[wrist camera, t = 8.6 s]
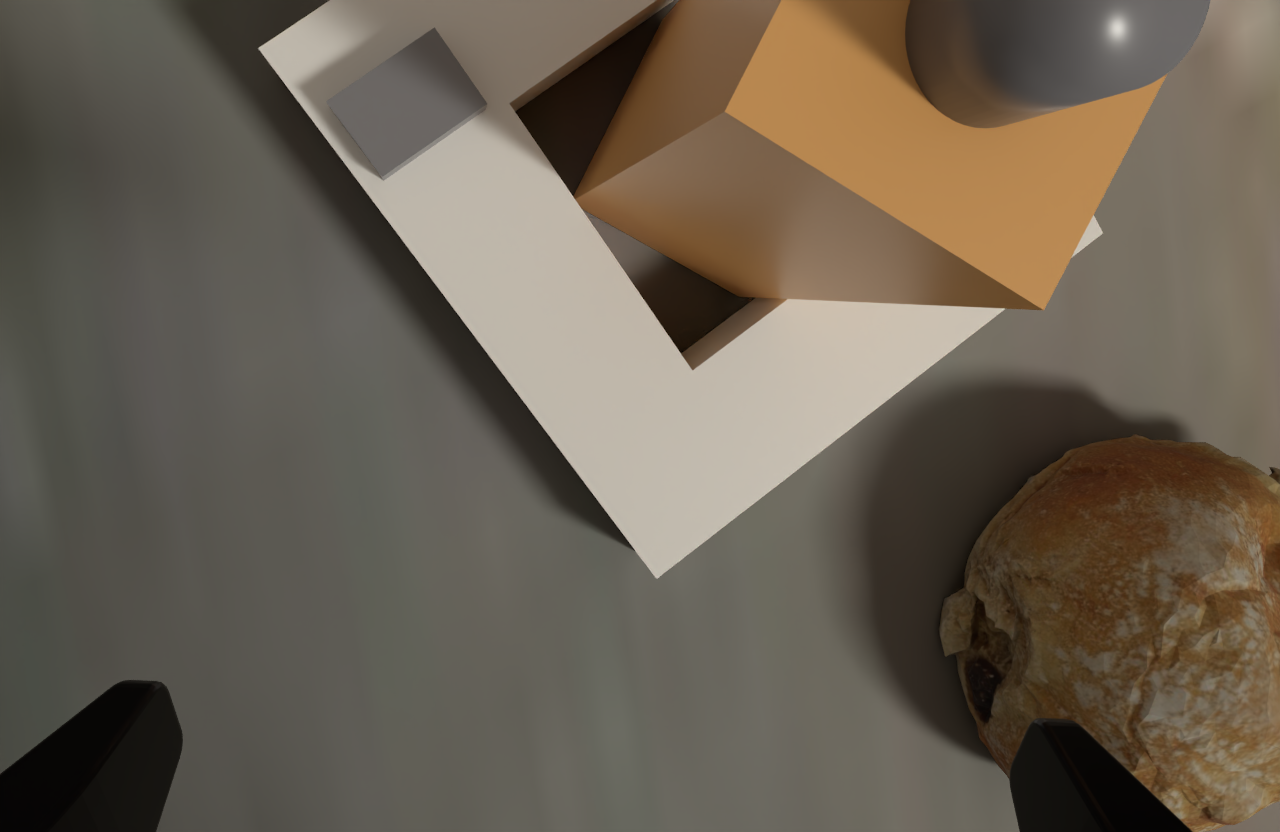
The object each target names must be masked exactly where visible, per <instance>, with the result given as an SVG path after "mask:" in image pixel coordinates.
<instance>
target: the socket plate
mask: <svg viewBox="0 0 1280 832" xmlns="http://www.w3.org/2000/svg"><path fill="white" fill-rule="evenodd" d="M672 1H674V0H330V1H328V2H327V3H325V4H324V5H322V6H321V7H319V8H318V9H316V10H315V11H313V12H312V13H310V14H309V15H307V16H306V17H304V18H303V19H301V20H300V21H298V22H297V23H295V24H294V25H292V26H291V27H289V28H288V29H286V30H285V31H283V32H282V33H280V34H279V35H277V36H276V37H274V38H273V39H271V40H270V41H268V42H267V43H265V44H264V45H262V46H261V47H259V48H258V49H259V50H260V51H261V53H262V54H263V55H264V57H265V58H266V60H267V61H268V62H269V64H270V65H271V66H272V68H273V69H274V70H275V72H276V73H277V74H278V76H279V77H280V78H281V80H282V81H283V82H284V84H285V85H286V86H287V88H288V89H289V90H290V92H291V93H292V94H293V96H294V97H295V98H296V100H297V101H298V102H299V103H300V105H301V106H302V107H303V109H304V110H305V111H306V113H307V114H308V115H309V117H310V118H311V119H312V121H313V122H314V123H315V125H316V126H317V127H318V129H319V130H320V131H321V133H322V134H323V135H324V137H325V138H326V139H327V141H328V142H329V143H330V145H331V146H332V147H333V149H334V150H335V151H336V153H337V154H338V155H339V157H340V158H341V159H342V161H343V162H344V163H345V165H346V166H347V167H348V169H349V170H350V171H351V173H352V174H353V175H354V177H355V178H356V179H357V181H358V182H359V183H360V185H361V186H362V187H363V189H364V190H365V191H366V193H367V194H368V195H369V197H370V198H371V199H372V201H373V202H374V203H375V205H376V206H377V207H378V209H379V210H380V211H381V213H382V214H383V215H384V217H385V218H386V219H387V221H388V222H389V223H390V225H391V226H392V227H393V229H394V230H395V231H396V233H397V234H398V235H399V237H400V238H401V239H402V241H403V242H404V243H405V245H406V246H407V247H408V249H409V250H410V251H411V253H412V254H413V255H414V257H415V258H416V259H417V261H418V262H419V263H420V265H421V266H422V267H423V269H424V270H425V271H426V273H427V274H428V275H429V277H430V278H431V279H432V281H433V282H434V283H435V285H436V286H437V287H438V289H439V290H440V291H441V293H442V294H443V295H444V297H445V298H446V299H447V301H448V302H449V303H450V305H451V306H452V307H453V309H454V310H455V311H456V313H457V314H458V315H459V317H460V318H461V319H462V321H463V322H464V323H465V325H466V326H467V327H468V329H469V330H470V331H471V332H472V334H473V335H474V336H475V338H476V339H477V340H478V342H479V343H480V344H481V346H482V347H483V348H484V350H485V351H486V352H487V354H488V355H489V356H490V358H491V359H492V360H493V362H494V363H495V364H496V366H497V367H498V368H499V370H500V371H501V372H502V374H503V375H504V376H505V378H506V379H507V380H508V382H509V383H510V384H511V386H512V387H513V388H514V390H515V391H516V392H517V394H518V395H519V396H520V398H521V399H522V400H523V402H524V403H525V404H526V406H527V407H528V408H529V410H530V411H531V412H532V414H533V415H534V416H535V418H536V419H537V420H538V422H539V423H540V424H541V426H542V427H543V428H544V430H545V431H546V432H547V434H548V435H549V436H550V438H551V439H552V440H553V442H554V443H555V444H556V446H557V447H558V448H559V450H560V451H561V452H562V454H563V455H564V456H565V458H566V459H567V460H568V462H569V463H570V464H571V466H572V467H573V468H574V470H575V471H576V472H577V474H578V475H579V476H580V478H581V479H582V480H583V482H584V483H585V484H586V486H587V487H588V488H589V490H590V491H591V492H592V494H593V495H594V496H595V498H596V499H597V500H598V502H599V503H600V504H601V506H602V507H603V508H604V510H605V511H606V512H607V514H608V515H609V516H610V518H611V519H612V520H613V522H614V523H615V524H616V526H617V527H618V528H619V530H620V531H621V532H622V534H623V535H624V536H625V538H626V539H627V540H628V542H629V543H630V544H631V546H632V547H633V548H634V550H635V551H636V552H637V554H638V555H639V556H640V557H641V559H642V560H643V561H644V563H645V564H646V565H647V567H648V568H649V569H650V571H651V572H652V573H653V575H654V576H655V577H656V579H657V578H658V577H660V576H661V575H662V574H663V573H665V572H666V571H667V570H669V569H670V568H671V567H672V566H674V565H675V564H676V563H678V562H679V561H680V560H682V559H683V558H684V557H685V556H687V555H688V554H689V553H691V552H692V551H693V550H694V549H696V548H697V547H698V546H700V545H701V544H702V543H703V542H705V541H706V540H707V539H709V538H710V537H711V536H713V535H714V534H715V533H716V532H718V531H719V530H720V529H722V528H723V527H724V526H725V525H727V524H728V523H729V522H731V521H732V520H733V519H734V518H736V517H737V516H738V515H740V514H741V513H742V512H743V511H745V510H746V509H747V508H749V507H750V506H751V505H753V504H754V503H755V502H756V501H758V500H759V499H760V498H762V497H763V496H764V495H765V494H767V493H768V492H769V491H771V490H772V489H773V488H774V487H776V486H777V485H778V484H780V483H781V482H782V481H784V480H785V479H786V478H787V477H789V476H790V475H791V474H793V473H794V472H795V471H796V470H798V469H799V468H800V467H802V466H803V465H804V464H805V463H807V462H808V461H809V460H811V459H812V458H813V457H815V456H816V455H817V454H818V453H820V452H821V451H822V450H824V449H825V448H826V447H827V446H829V445H830V444H831V443H833V442H834V441H835V440H836V439H838V438H839V437H840V436H842V435H843V434H844V433H846V432H847V431H848V430H849V429H851V428H852V427H853V426H855V425H856V424H857V423H858V422H860V421H861V420H862V419H864V418H865V417H866V416H867V415H869V414H870V413H871V412H873V411H874V410H875V409H877V408H878V407H879V406H880V405H882V404H883V403H884V402H886V401H887V400H888V399H889V398H891V397H892V396H893V395H895V394H896V393H897V392H898V391H900V390H901V389H902V388H904V387H905V386H906V385H908V384H909V383H910V382H911V381H913V380H914V379H915V378H917V377H918V376H919V375H920V374H922V373H923V372H924V371H926V370H927V369H928V368H929V367H931V366H932V365H933V364H935V363H936V362H937V361H939V360H940V359H941V358H942V357H944V356H945V355H946V354H948V353H949V352H950V351H951V350H953V349H954V348H955V347H957V346H958V345H959V344H960V343H962V342H963V341H964V340H966V339H967V338H968V337H970V336H971V335H972V334H973V333H975V332H976V331H977V330H979V329H980V328H981V327H982V326H984V325H985V324H986V323H988V322H989V321H990V320H991V319H993V318H994V317H995V316H997V315H998V314H999V313H1001V312H1002V311H1003V310H1004V309H1005V308H983V307H960V306H937V305H914V304H892V303H869V302H846V301H823V300H801V299H778V298H755V299H753V300H752V301H751V302H749V303H748V304H747V305H745V306H744V307H743V308H741V309H740V310H739V311H737V312H736V313H735V314H733V315H732V316H731V317H729V318H728V319H727V320H725V321H724V322H723V323H721V324H720V325H719V326H717V327H716V328H715V329H713V330H712V331H711V332H709V333H708V334H707V335H705V336H704V337H703V338H701V339H700V340H699V341H697V342H696V343H695V344H693V345H692V346H690V347H689V348H688V349H686V350H685V351H684V352H682V353H680V352H679V350H678V349H677V347H676V346H675V344H674V343H673V341H672V340H671V339H670V337H669V336H668V334H667V333H666V331H665V330H664V328H663V327H662V325H661V324H660V323H659V321H658V320H657V318H656V317H655V315H654V314H653V312H652V311H651V309H650V308H649V306H648V305H647V304H646V302H645V301H644V299H643V298H642V296H641V295H640V293H639V292H638V290H637V289H636V288H635V286H634V285H633V283H632V282H631V280H630V279H629V277H628V276H627V274H626V273H625V271H624V270H623V269H622V267H621V266H620V264H619V263H618V261H617V260H616V258H615V257H614V255H613V254H612V253H611V251H610V250H609V248H608V247H607V245H606V244H605V242H604V241H603V239H602V238H601V236H600V235H599V234H598V232H597V231H596V229H595V228H594V226H593V225H592V223H591V222H590V220H589V219H588V218H587V216H586V215H585V213H584V212H583V210H582V209H581V207H580V206H579V204H578V203H577V201H576V200H575V199H574V197H573V196H572V194H571V193H570V191H569V190H568V188H567V187H566V185H565V184H564V183H563V181H562V180H561V178H560V177H559V175H558V174H557V172H556V171H555V169H554V168H553V167H552V165H551V164H550V162H549V161H548V159H547V158H546V156H545V155H544V153H543V152H542V150H541V149H540V148H539V146H538V145H537V143H536V142H535V140H534V139H533V137H532V136H531V134H530V133H529V132H528V130H527V129H526V127H525V126H524V124H523V123H522V121H521V120H520V118H519V117H518V115H517V114H516V113H515V111H517V110H518V109H519V108H521V107H522V106H524V105H525V104H527V103H528V102H529V101H531V100H532V99H534V98H535V97H537V96H538V95H539V94H541V93H542V92H544V91H545V90H547V89H548V88H549V87H551V86H552V85H554V84H555V83H557V82H558V81H559V80H561V79H562V78H564V77H565V76H567V75H568V74H569V73H571V72H572V71H574V70H575V69H577V68H578V67H579V66H581V65H582V64H584V63H585V62H587V61H588V60H589V59H591V58H592V57H594V56H595V55H597V54H598V53H599V52H601V51H602V50H604V49H605V48H607V47H608V46H609V45H611V44H612V43H614V42H615V41H617V40H618V39H619V38H621V37H622V36H624V35H625V34H627V33H628V32H629V31H631V30H632V29H634V28H635V27H637V26H638V25H639V24H641V23H642V22H644V21H645V20H647V19H648V18H649V17H651V16H652V15H654V14H655V13H657V12H658V11H659V10H661V9H662V8H664V7H665V6H667V5H668V4H669V3H671V2H672ZM1101 234H1103V232H1102V230H1101V228H1100V227H1099V225H1098V223H1097V221H1096V219H1095V217H1094V215H1093V217H1092V219H1091V221H1090V223H1089V225H1088V226H1087V228H1086V230H1085V232H1084V234H1083V236H1082V238H1081V240H1080V242H1079V244H1078V246H1077V247H1076V249H1075V251H1074V253H1073V255H1072V257H1073V256H1074V255H1075V254H1077V253H1078V252H1079V251H1081V250H1082V249H1083V248H1084V247H1086V246H1087V245H1088V244H1090V243H1091V242H1092V241H1094V240H1095V239H1096V238H1097V237H1099V236H1100V235H1101ZM1072 257H1071V258H1072Z"/></svg>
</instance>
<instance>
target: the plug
mask: <svg viewBox="0 0 1280 832" xmlns="http://www.w3.org/2000/svg"><path fill="white" fill-rule="evenodd" d="M1209 4H1210V0H679V1H678V3H677V4H676V5H675V6H674V7H673V8H672V9H671V11H670V12H669V13H668V14H667V15H666V16H665V17H664V19H663V20H662V21H661V23H660V25H659V27H658V29H657V31H656V33H655V35H654V37H653V39H652V41H651V43H650V45H649V47H648V49H647V51H646V53H645V55H644V57H643V59H642V61H641V63H640V65H639V67H638V69H637V71H636V73H635V75H634V77H633V79H632V81H631V83H630V85H629V87H628V89H627V91H626V93H625V95H624V97H623V99H622V101H621V103H620V105H619V107H618V109H617V111H616V113H615V115H614V117H613V119H612V120H611V122H610V124H609V126H608V128H607V130H606V132H605V134H604V136H603V138H602V140H601V142H600V144H599V146H598V148H597V150H596V152H595V154H594V156H593V158H592V160H591V162H590V164H589V166H588V168H587V170H586V172H585V174H584V176H583V178H582V180H581V182H580V184H579V186H578V188H577V190H576V192H575V194H574V196H573V197H574V199H575V200H576V201H577V203H578V204H579V206H580V207H581V209H583V210H585V211H587V212H588V213H590V214H592V215H594V216H596V217H597V218H599V219H601V220H603V221H604V222H606V223H608V224H610V225H612V226H613V227H615V228H617V229H619V230H621V231H622V232H624V233H626V234H628V235H629V236H631V237H633V238H635V239H637V240H638V241H640V242H642V243H644V244H645V245H647V246H649V247H651V248H653V249H654V250H656V251H658V252H660V253H662V254H663V255H665V256H667V257H669V258H670V259H672V260H674V261H676V262H678V263H679V264H681V265H683V266H685V267H687V268H688V269H690V270H692V271H694V272H695V273H697V274H699V275H701V276H703V277H704V278H706V279H708V280H710V281H711V282H713V283H715V284H717V285H719V286H720V287H722V288H724V289H726V290H728V291H729V292H731V293H733V294H735V295H736V296H738V297H755V298H778V299H801V300H823V301H846V302H869V303H892V304H914V305H937V306H960V307H983V308H1005V309H1028V310H1044V309H1045V307H1046V305H1047V303H1048V301H1049V299H1050V297H1051V295H1052V293H1053V292H1054V290H1055V288H1056V286H1057V284H1058V282H1059V280H1060V278H1061V276H1062V274H1063V272H1064V270H1065V269H1066V267H1067V265H1068V263H1069V261H1070V259H1071V257H1072V255H1073V253H1074V251H1075V249H1076V247H1077V246H1078V244H1079V242H1080V240H1081V238H1082V236H1083V234H1084V232H1085V230H1086V228H1087V226H1088V225H1089V223H1090V221H1091V219H1092V217H1093V215H1094V213H1095V211H1096V209H1097V207H1098V205H1099V203H1100V202H1101V200H1102V198H1103V196H1104V194H1105V192H1106V190H1107V188H1108V186H1109V184H1110V182H1111V180H1112V179H1113V177H1114V175H1115V173H1116V171H1117V169H1118V167H1119V165H1120V163H1121V161H1122V159H1123V157H1124V156H1125V154H1126V152H1127V150H1128V148H1129V146H1130V144H1131V142H1132V140H1133V138H1134V136H1135V134H1136V133H1137V131H1138V129H1139V127H1140V125H1141V123H1142V121H1143V119H1144V117H1145V115H1146V113H1147V112H1148V110H1149V108H1150V106H1151V104H1152V102H1153V100H1154V98H1155V96H1156V94H1157V92H1158V90H1159V89H1160V87H1161V85H1162V83H1163V81H1164V79H1165V77H1166V75H1167V73H1168V72H1170V71H1171V70H1172V69H1173V68H1174V67H1175V66H1176V65H1177V64H1178V63H1179V62H1180V61H1181V60H1182V59H1183V58H1184V57H1185V55H1186V54H1187V53H1188V51H1189V50H1190V49H1191V47H1192V45H1193V44H1194V42H1195V40H1196V39H1197V37H1198V35H1199V33H1200V31H1201V28H1202V26H1203V24H1204V21H1205V18H1206V15H1207V12H1208V9H1209Z"/></svg>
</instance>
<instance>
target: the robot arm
mask: <svg viewBox="0 0 1280 832" xmlns="http://www.w3.org/2000/svg"><path fill="white" fill-rule="evenodd" d="M182 743H183V736H182V730H181V727H180V724H179V721H178V718H177V715H176V712H175V709H174V706H173V703H172V699H171V696H170V693H169V691H168V689H167V687H166V686H165V685H164V684H163V683H162V682H158V681H142V680H125V681H122V682H119V683H117V684H115V685H114V686H112V687H111V688H110V689H108V690H107V691H106V692H104V693H103V694H102V695H101V696H99V697H98V698H97V699H95V700H94V701H93V702H92V703H90V704H89V705H88V706H87V707H85V708H84V709H83V710H81V711H80V712H79V713H78V714H76V715H75V716H74V717H72V718H71V719H70V720H69V721H67V722H66V723H65V724H64V725H62V726H61V727H60V728H58V729H57V730H56V731H55V732H53V733H52V734H51V735H49V736H48V737H47V738H46V739H44V740H43V741H42V742H41V743H39V744H38V745H37V746H35V747H34V748H33V749H32V750H30V751H29V752H28V753H26V754H25V755H24V756H23V757H21V758H20V759H19V760H18V761H16V762H15V763H14V764H12V765H11V766H10V767H9V768H7V769H6V770H5V771H3V772H2V773H1V774H0V832H156V830H157V827H158V824H159V821H160V818H161V815H162V812H163V809H164V805H165V802H166V799H167V796H168V793H169V790H170V787H171V784H172V781H173V777H174V774H175V771H176V768H177V765H178V762H179V759H180V755H181V751H182ZM1010 788H1011V793H1012V798H1013V803H1014V807H1015V812H1016V816H1017V821H1018V826H1019V830H1020V832H1193V831H1192V830H1191V829H1190V828H1189V827H1187V826H1186V825H1185V824H1184V823H1183V822H1182V821H1181V820H1180V819H1179V818H1178V817H1177V816H1176V815H1175V814H1174V813H1173V812H1172V811H1171V810H1170V809H1169V808H1167V807H1166V806H1165V805H1164V804H1163V803H1162V802H1161V801H1160V800H1159V799H1158V798H1157V797H1156V796H1155V795H1154V794H1153V793H1152V792H1151V791H1150V790H1149V789H1147V788H1146V787H1145V786H1144V785H1143V784H1142V783H1141V782H1140V781H1139V780H1138V779H1137V778H1136V777H1135V776H1134V775H1133V774H1132V773H1131V772H1130V771H1129V770H1127V769H1126V768H1125V767H1124V766H1123V765H1122V764H1121V763H1120V762H1119V761H1118V760H1117V759H1116V758H1115V757H1114V756H1113V755H1112V754H1111V753H1110V752H1109V751H1107V750H1106V749H1105V748H1104V747H1103V746H1102V745H1101V744H1100V743H1099V742H1098V741H1097V740H1096V739H1095V738H1094V737H1093V736H1092V735H1091V734H1090V733H1089V732H1087V731H1086V730H1085V729H1084V728H1083V727H1082V726H1081V725H1080V724H1078V723H1076V722H1075V721H1073V720H1069V719H1056V718H1036V719H1035V720H1034V721H1032V722H1031V723H1030V725H1029V726H1028V729H1027V731H1026V733H1025V735H1024V737H1023V740H1022V742H1021V744H1020V746H1019V748H1018V751H1017V753H1016V755H1015V757H1014V759H1013V762H1012V764H1011V768H1010Z"/></svg>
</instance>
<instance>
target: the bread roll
mask: <svg viewBox="0 0 1280 832" xmlns="http://www.w3.org/2000/svg"><path fill="white" fill-rule="evenodd" d="M1269 468H1270V470H1271V471H1272V474H1271V475H1269V476H1268V475H1267V474H1265V473H1264V472H1262V471H1261V470H1259V469H1258V468H1256V467H1255V466H1253V465H1252V464H1250V463H1249V462H1247V461H1246V460H1244V459H1243V458H1241V457H1231V456H1229V455H1226V454H1225V453H1223V452H1222V451H1220V450H1219V449H1217V448H1215V447H1214V446H1212V445H1210V444H1208V443H1206V442H1175V441H1172V440H1150V439H1148V438H1146V437H1143V436H1140V435H1136V434H1134V435H1133V436H1131V437H1127V438H1118V439H1112V440H1106V441H1101V442H1096V443H1091V444H1088V445H1085V446H1082V447H1078V448H1075V449H1071V450H1069V451H1067V452H1066V453H1065V454H1064V456H1063V457H1062V458H1061V459H1059V460H1058V461H1056V462H1055V463H1052V464H1050V465H1049V466H1048V467H1047V468H1045V469H1043V470H1042V471H1041V472H1040V473H1039V474H1036V475H1034V476H1032V477H1030V478H1028V480H1027V482H1026V484H1025V485H1024V486H1023V487H1022V488H1021V490H1020V491H1019V492H1018V493H1017V494H1016V495H1015V497H1014V498H1013V499H1012V500H1010V501H1009V502H1008V503H1007V504H1006V505H1005V506H1004V507H1003V508H1002V509H1001V510H1000V511H999V512H998V513H997V514H996V515H995V517H994V518H993V519H992V520H991V521H990V523H989V524H988V525H987V527H986V528H985V530H984V531H983V532H982V534H981V535H980V536H979V538H978V539H977V540H976V543H975V545H974V547H973V549H972V551H971V553H970V555H969V558H968V561H967V565H966V570H965V583H964V587H963V588H962V589H960V590H959V591H958V592H957V593H954V594H952V595H951V596H950V597H947V598H944V604H943V608H942V613H941V622H940V627H939V632H940V637H941V642H942V646H943V650H944V654H945V656H949V655H953V654H955V656H956V658H957V665H958V673H959V677H960V680H961V684H962V687H963V690H964V694H965V697H966V700H967V703H968V707H969V710H970V712H971V713H972V715H973V717H974V719H975V720H976V722H977V729H978V734H979V739H980V740H981V741H982V742H983V743H984V744H985V746H986V747H987V748H988V750H989V751H990V753H991V755H992V757H993V758H994V760H995V761H996V763H997V764H998V766H999V767H1000V768H1001V769H1002V771H1003V772H1004V773H1005V774H1006V775H1007V776H1008V778H1009V780H1010V768H1011V764H1012V762H1013V759H1014V757H1015V755H1016V753H1017V751H1018V748H1019V746H1020V744H1021V742H1022V740H1023V737H1024V735H1025V733H1026V731H1027V729H1028V726H1029V725H1030V723H1031V722H1032V721H1034V720H1035V719H1036V718H1056V719H1069V720H1073V721H1075V722H1076V723H1078V724H1080V725H1081V726H1082V727H1083V728H1084V729H1085V730H1086V731H1087V732H1089V733H1090V734H1091V735H1092V736H1093V737H1094V738H1095V739H1096V740H1097V741H1098V742H1099V743H1100V744H1101V745H1102V746H1103V747H1104V748H1105V749H1106V750H1107V751H1109V752H1110V753H1111V754H1112V755H1113V756H1114V757H1115V758H1116V759H1117V760H1118V761H1119V762H1120V763H1121V764H1122V765H1123V766H1124V767H1125V768H1126V769H1127V770H1129V771H1130V772H1131V773H1132V774H1133V775H1134V776H1135V777H1136V778H1137V779H1138V780H1139V781H1140V782H1141V783H1142V784H1143V785H1144V786H1145V787H1146V788H1147V789H1149V790H1150V791H1151V792H1152V793H1153V794H1154V795H1155V796H1156V797H1157V798H1158V799H1159V800H1160V801H1161V802H1162V803H1163V804H1164V805H1165V806H1166V807H1167V808H1169V809H1170V810H1171V811H1172V812H1173V813H1174V814H1175V815H1176V816H1177V817H1178V818H1179V819H1180V820H1181V821H1182V822H1183V823H1184V824H1185V825H1186V826H1187V827H1189V828H1190V829H1191V830H1192V831H1193V832H1206V831H1210V830H1215V829H1217V828H1220V827H1222V826H1225V825H1235V824H1237V823H1239V822H1242V821H1244V820H1246V819H1248V818H1249V817H1251V816H1252V815H1254V814H1255V813H1257V812H1258V811H1260V810H1261V809H1263V808H1265V807H1268V806H1269V805H1271V804H1273V803H1276V802H1279V801H1280V469H1277V468H1273V467H1269Z"/></svg>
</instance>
